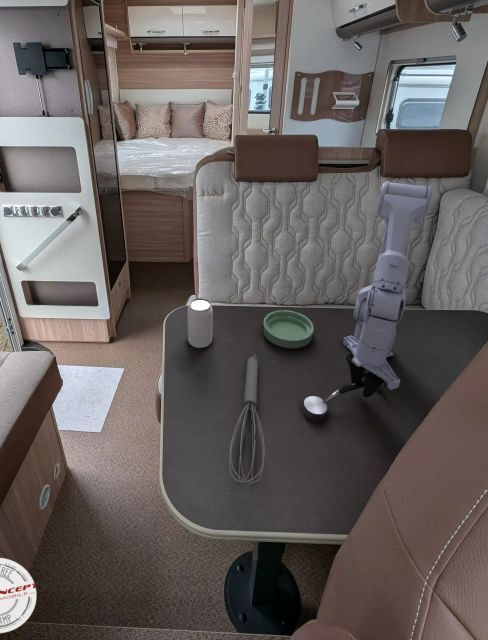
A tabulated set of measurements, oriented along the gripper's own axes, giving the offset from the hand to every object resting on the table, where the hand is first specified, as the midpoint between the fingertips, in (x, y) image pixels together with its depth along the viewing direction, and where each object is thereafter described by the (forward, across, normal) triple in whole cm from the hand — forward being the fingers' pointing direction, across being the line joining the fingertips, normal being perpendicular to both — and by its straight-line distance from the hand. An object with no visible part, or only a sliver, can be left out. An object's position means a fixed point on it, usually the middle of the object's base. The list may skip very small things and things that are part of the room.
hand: (361, 389), depth 81 cm
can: (+3, -30, -28) cm, 41 cm away
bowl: (+2, -25, -4) cm, 25 cm away
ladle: (+2, 0, -4) cm, 5 cm away
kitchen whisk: (+3, -4, -26) cm, 26 cm away
